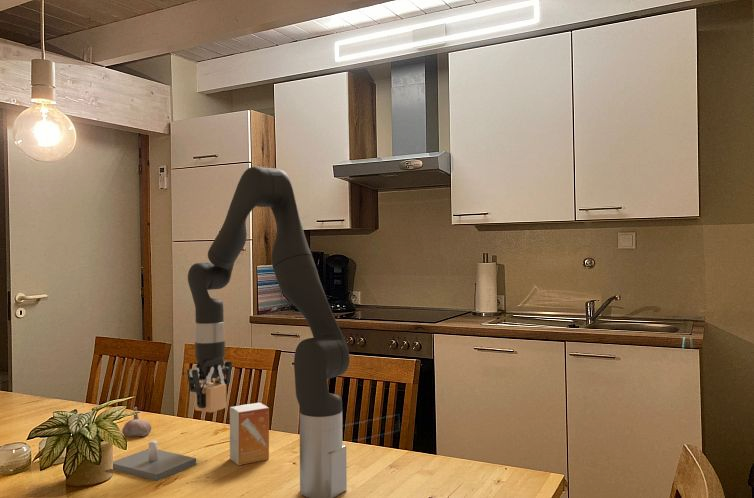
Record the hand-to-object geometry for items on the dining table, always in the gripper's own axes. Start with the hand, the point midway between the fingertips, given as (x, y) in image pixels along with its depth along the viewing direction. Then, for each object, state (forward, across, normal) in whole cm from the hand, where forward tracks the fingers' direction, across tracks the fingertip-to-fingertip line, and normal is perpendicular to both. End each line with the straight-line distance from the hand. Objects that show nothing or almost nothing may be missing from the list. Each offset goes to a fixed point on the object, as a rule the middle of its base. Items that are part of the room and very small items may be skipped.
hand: (210, 404), depth 158 cm
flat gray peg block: (+12, -15, +4) cm, 20 cm away
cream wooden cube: (+1, 0, 0) cm, 1 cm away
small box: (+12, 0, -13) cm, 18 cm away
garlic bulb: (+12, 0, +28) cm, 31 cm away
